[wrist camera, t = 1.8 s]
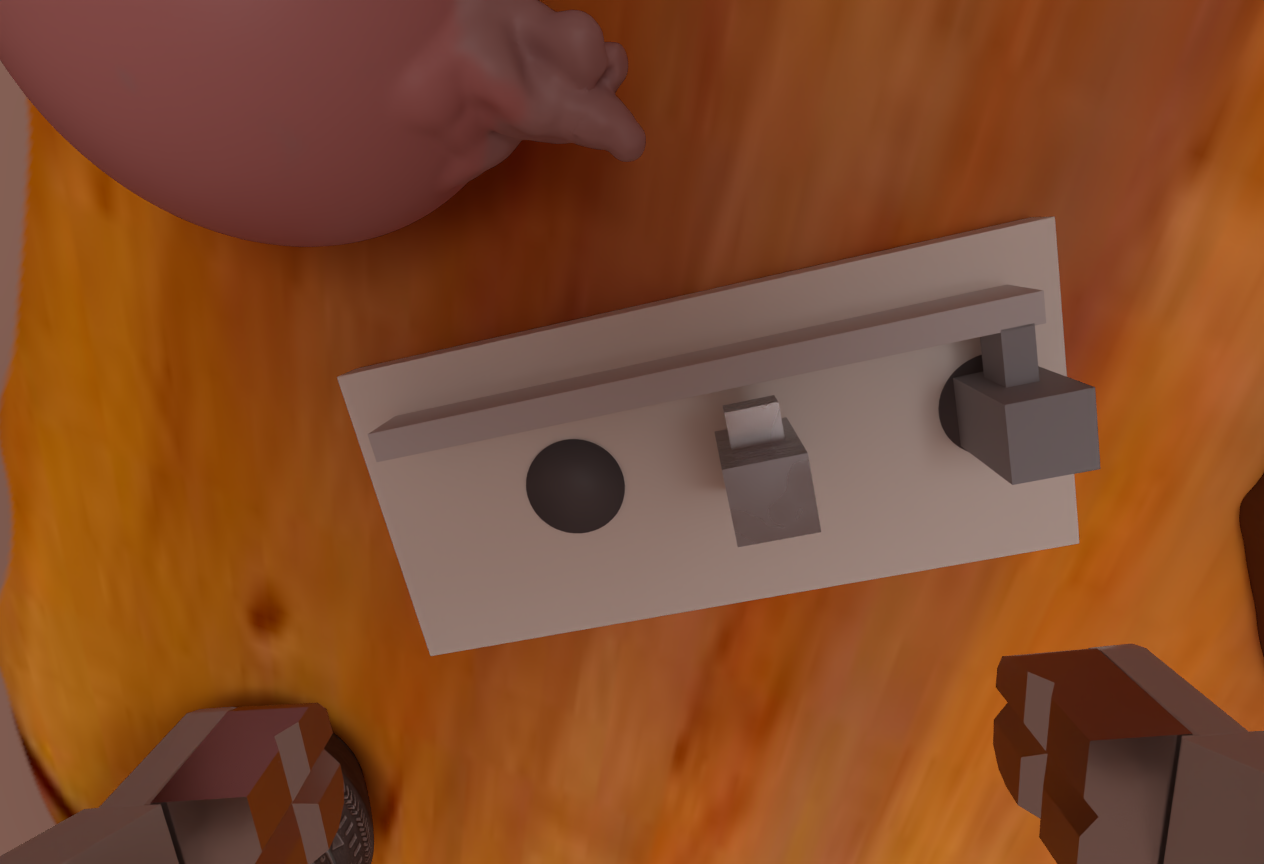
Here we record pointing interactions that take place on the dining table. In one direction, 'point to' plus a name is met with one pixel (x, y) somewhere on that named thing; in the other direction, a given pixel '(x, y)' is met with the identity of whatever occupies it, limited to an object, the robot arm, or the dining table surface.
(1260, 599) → the plant
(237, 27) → the balloon
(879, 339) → the grey peg board
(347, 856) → the planter
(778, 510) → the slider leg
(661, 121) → the dining table surface
